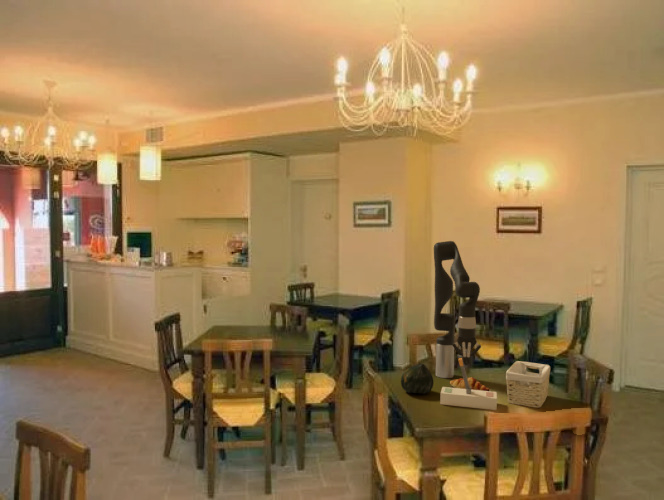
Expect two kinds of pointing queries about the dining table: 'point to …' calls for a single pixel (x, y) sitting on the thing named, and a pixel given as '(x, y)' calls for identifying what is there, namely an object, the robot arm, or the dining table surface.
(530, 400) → the storage basket
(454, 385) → the croissant
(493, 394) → the switch block
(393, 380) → the dining table surface
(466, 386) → the lever
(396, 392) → the dining table surface
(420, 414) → the dining table surface
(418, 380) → the squash
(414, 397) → the dining table surface
